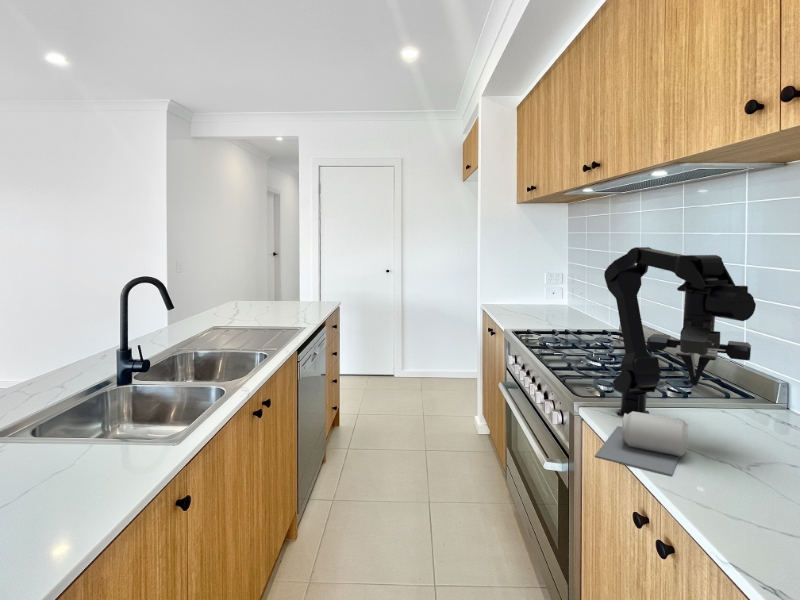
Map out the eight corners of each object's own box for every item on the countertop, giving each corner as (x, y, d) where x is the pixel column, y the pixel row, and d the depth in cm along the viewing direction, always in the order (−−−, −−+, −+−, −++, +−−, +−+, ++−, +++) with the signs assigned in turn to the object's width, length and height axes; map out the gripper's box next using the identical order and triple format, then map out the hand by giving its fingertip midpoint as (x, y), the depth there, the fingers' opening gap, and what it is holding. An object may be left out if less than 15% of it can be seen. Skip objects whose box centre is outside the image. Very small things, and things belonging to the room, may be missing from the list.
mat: (617, 427, 115) (617, 426, 115) (685, 441, 107) (685, 439, 107) (594, 457, 99) (594, 455, 99) (672, 476, 91) (672, 474, 91)
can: (686, 448, 94) (619, 435, 100) (685, 463, 99) (621, 450, 105) (688, 413, 98) (623, 403, 104) (687, 430, 103) (625, 419, 109)
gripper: (643, 314, 102) (639, 386, 104) (752, 323, 91) (746, 403, 93) (653, 309, 111) (649, 375, 113) (753, 315, 100) (747, 389, 102)
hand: (694, 385), depth 105 cm, fingers closed
